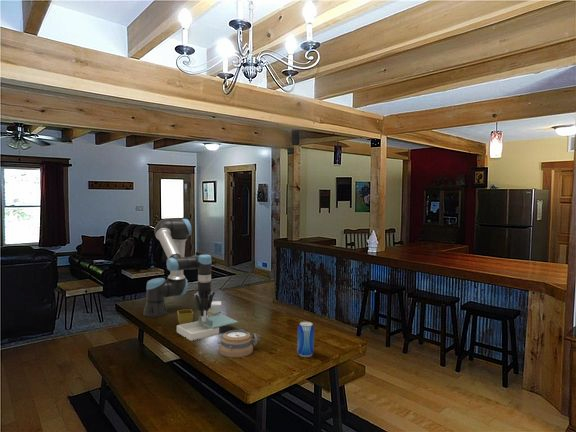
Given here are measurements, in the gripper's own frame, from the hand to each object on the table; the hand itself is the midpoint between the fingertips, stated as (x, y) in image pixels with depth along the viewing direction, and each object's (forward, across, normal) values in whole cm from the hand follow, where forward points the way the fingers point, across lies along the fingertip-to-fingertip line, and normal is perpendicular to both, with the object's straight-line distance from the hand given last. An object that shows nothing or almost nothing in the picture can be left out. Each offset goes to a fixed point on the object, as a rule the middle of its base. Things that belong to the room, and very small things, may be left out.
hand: (203, 321), depth 226 cm
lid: (+2, +9, 0) cm, 10 cm away
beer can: (+7, +24, -61) cm, 66 cm away
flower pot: (+7, -4, +16) cm, 18 cm away
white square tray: (+6, -4, 0) cm, 7 cm away
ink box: (+7, +16, +14) cm, 22 cm away
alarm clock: (+7, +2, -35) cm, 36 cm away
